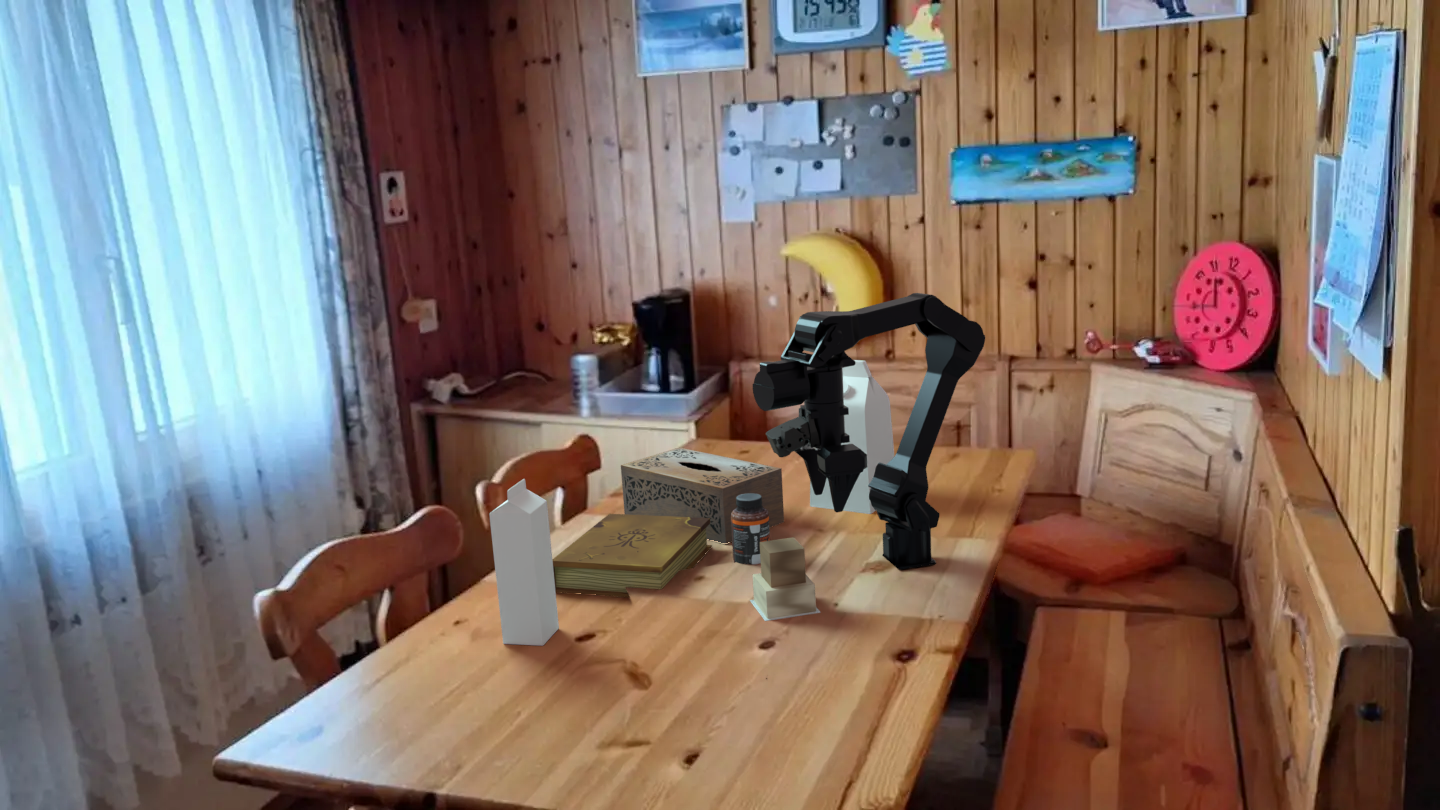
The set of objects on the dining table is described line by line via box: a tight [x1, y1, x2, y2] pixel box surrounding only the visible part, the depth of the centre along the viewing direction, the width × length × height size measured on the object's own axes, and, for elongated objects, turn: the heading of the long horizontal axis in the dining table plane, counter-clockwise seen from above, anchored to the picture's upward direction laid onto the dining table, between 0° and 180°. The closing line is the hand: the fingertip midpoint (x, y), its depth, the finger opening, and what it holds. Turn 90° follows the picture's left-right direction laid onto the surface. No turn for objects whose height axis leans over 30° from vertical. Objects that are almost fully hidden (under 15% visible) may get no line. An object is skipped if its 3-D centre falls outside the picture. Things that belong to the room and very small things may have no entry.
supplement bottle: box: [731, 493, 771, 565], centre depth 189 cm, size 6×6×11 cm
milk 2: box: [809, 359, 895, 515], centre depth 217 cm, size 12×12×26 cm
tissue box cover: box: [620, 447, 785, 544], centre depth 214 cm, size 26×14×10 cm, turn 45°
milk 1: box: [488, 478, 560, 646], centre depth 166 cm, size 6×6×22 cm
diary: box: [552, 513, 713, 598], centre depth 192 cm, size 23×19×6 cm
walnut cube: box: [760, 537, 807, 588], centre depth 169 cm, size 5×5×5 cm
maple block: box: [752, 572, 817, 619], centre depth 170 cm, size 7×7×4 cm
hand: (828, 503), depth 178 cm, fingers open, 9 cm apart
